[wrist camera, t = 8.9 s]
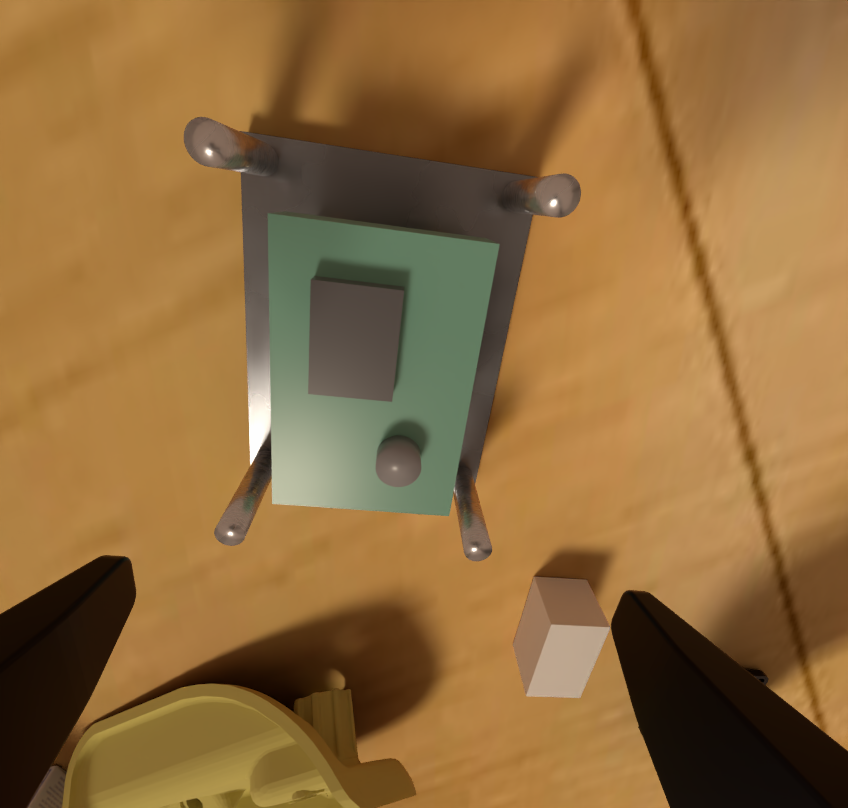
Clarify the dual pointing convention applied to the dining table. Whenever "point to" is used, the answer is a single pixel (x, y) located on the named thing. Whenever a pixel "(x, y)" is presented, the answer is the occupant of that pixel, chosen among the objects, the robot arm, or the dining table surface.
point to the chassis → (383, 204)
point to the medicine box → (50, 790)
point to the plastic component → (230, 755)
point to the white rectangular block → (559, 637)
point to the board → (372, 360)
